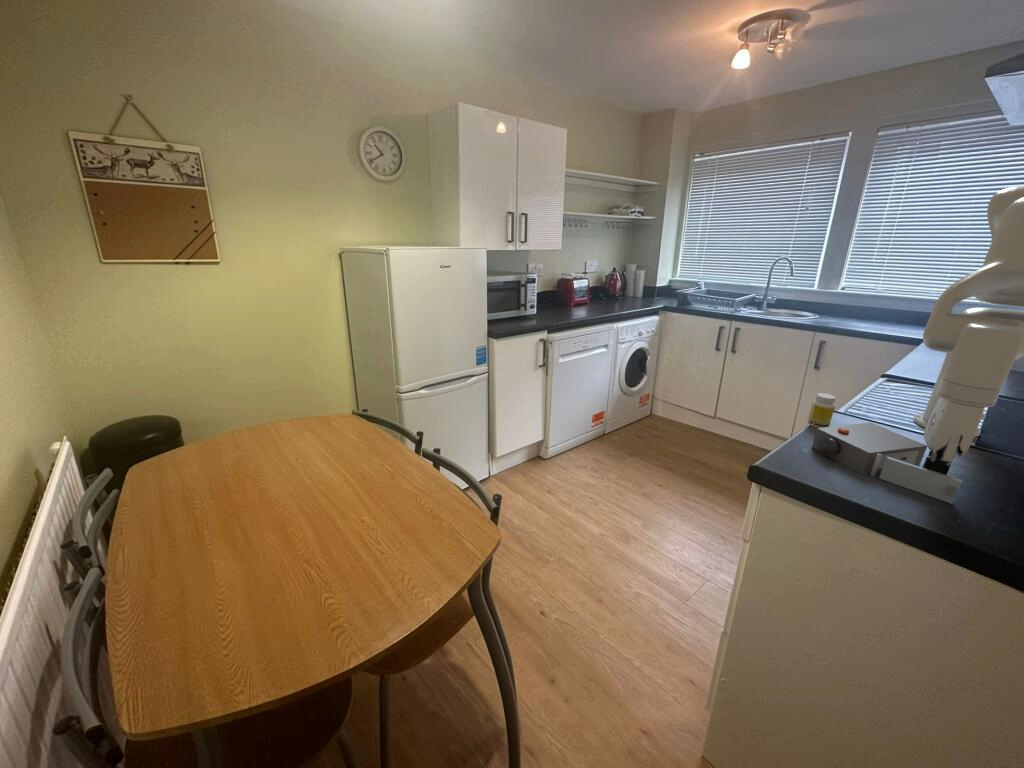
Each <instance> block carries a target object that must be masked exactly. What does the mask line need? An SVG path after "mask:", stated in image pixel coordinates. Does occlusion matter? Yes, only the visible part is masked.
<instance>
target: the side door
mask: <svg viewBox="0 0 1024 768" xmlns="http://www.w3.org/2000/svg"><path fill="white" fill-rule="evenodd" d="M878 479H880V480H883V481H886V482H888V483H891V484H894V485H898V486H900V487H903V488H906V489H908V490H912V491H913V492H917V493H919V494H923V495H925V496H928V497H930V498H935V499H937V500H940V501H943V502H945V503H948V504H951V505H952V504H953V503H954V501H955V498H956V496H957V493H958V491H959V489H960V486H961V484H962V483H963V480H962V479H959V478H957V477H953V476H951V475H948V474H947V475H944V474H941V473H938V472H935V471H931V470H928V469H925V468H923V466H916V465H913V464H909V463H906V462H903V461H900V460H897V459H894V458H891V457H887V458H886V460H885V463H884V466H883V469H882V471H880V475H879V477H878Z"/></svg>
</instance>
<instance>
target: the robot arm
mask: <svg viewBox="0 0 1024 768" xmlns="http://www.w3.org/2000/svg"><path fill="white" fill-rule="evenodd" d="M986 216H987V222H988V226H989V227H988V228H989V232H990V234H991V242H990V246H989V248H988V251H987V253H986V256H985V258H984V261H983V264H982V265H981V267H979V269H976V270H974V271H972V272H970V273H968V274H966V275H965V276H962V277H961V278H960V279H958V280H957V281H955V282H953V283H952V284H951V285H950V286H948V287H947V288H946V289H945V290H943V292H942V293H941V294H940V296H939V297H938V299H937V300H936V301H935V304H934V306H933V309H932V311H931V312H930V316H929V318H928V320H927V322H926V326H925V328H924V330H923V334H922V342H923V344H924V346H925V347H926V348H927V349H930V350H931V351H934V352H935V351H936V352H939V353H946V354H945V357H944V360H943V362H942V365H941V368H940V370H939V373H938V376H937V378H936V380H935V384H934V386H933V389H932V391H931V395H930V396H929V400H928V403H927V405H926V407H925V410H924V412H923V413H918V414H916V415H914V416H913V422H914V423H915V424H917V425H918V426H920V427H923V428H924V431H923V437H924V442H925V445H927V449H929V451H928V454H927V455H928V456H926V458H925V460H924V463H923V466H922V468H925V469H928V470H931V471H935V472H938V473H941V474H944V475H947V476H948V473H949V470H950V467H951V465H952V463H953V461H954V459H955V457H956V454H957V456H958V457H960V458H961V457H964V456H965V455H966V454H967V453H968V451H969V449H970V446H971V445H972V442H973V439H974V438H977V437H979V436H980V434H981V433H982V432H981V431H982V430H981V429H980V428H979V425H980V423H981V421H983V420H985V417H986V415H985V414H984V411H985V408H991V407H994V406H995V405H996V403H997V401H998V399H999V396H1000V394H1001V391H1002V390H1003V387H1004V385H1005V383H1006V381H1007V378H1008V376H1009V374H1010V371H1011V369H1012V367H1013V365H1014V362H1015V361H1016V360H1017V361H1018V360H1019V359H1021V358H1023V357H1024V310H1015V309H1004V308H995V307H994V308H992V307H971V308H967V309H963V311H960V312H959V313H953V312H952V311H953V309H954V308H955V306H956V305H957V304H959V303H960V302H962V301H964V300H966V299H969V298H971V297H972V298H973V297H975V299H976V300H977V301H979V302H981V303H985V304H990V305H996V306H1008V307H1009V306H1010V307H1019V308H1024V185H1018V186H1013V187H1008V188H1004V189H1001V190H999V191H996V193H995V194H993V195H992V197H991V199H990V200H989V202H988V206H987V212H986Z"/></svg>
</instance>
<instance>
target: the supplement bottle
mask: <svg viewBox="0 0 1024 768" xmlns="http://www.w3.org/2000/svg"><path fill="white" fill-rule="evenodd" d="M835 401H836V396H835V395H832V394H829V393H823V392H822V393H820V392H819V393H816V396H815V399H814V400H813V401H812V404H811V408H810V411H809V415H808V419H807V424H808V425H809V426H811V427H813V428H816V429H817V428H824V427H830V424H831V421H832V419H833V415H834V411H835V407H836V405H835V404H834V403H835ZM817 420H818V421H817ZM813 423H814V424H813ZM811 424H813V425H811Z"/></svg>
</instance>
